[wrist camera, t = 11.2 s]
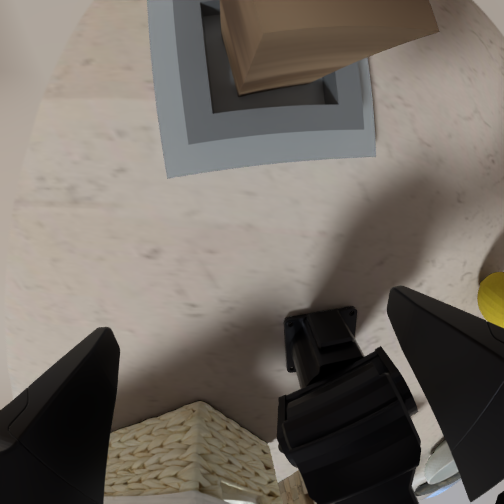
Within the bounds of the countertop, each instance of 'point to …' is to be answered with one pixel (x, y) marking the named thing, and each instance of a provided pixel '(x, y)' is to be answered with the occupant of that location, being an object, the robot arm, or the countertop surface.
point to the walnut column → (312, 37)
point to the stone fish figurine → (436, 485)
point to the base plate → (245, 102)
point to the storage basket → (189, 461)
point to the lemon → (492, 298)
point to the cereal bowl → (440, 464)
